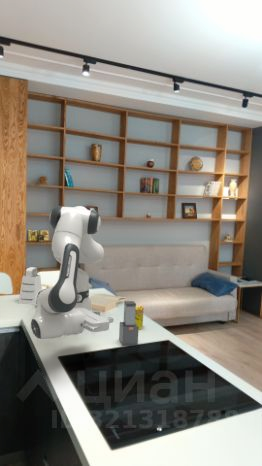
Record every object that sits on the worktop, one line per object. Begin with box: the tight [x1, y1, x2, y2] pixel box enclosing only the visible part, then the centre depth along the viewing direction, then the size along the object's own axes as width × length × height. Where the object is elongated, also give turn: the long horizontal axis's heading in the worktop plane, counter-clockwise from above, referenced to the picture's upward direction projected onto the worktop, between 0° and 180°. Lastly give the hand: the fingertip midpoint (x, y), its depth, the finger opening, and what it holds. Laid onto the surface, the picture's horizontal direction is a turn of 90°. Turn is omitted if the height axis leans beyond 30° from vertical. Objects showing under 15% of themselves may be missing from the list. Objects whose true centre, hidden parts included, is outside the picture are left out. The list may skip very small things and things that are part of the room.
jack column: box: [122, 300, 137, 326], centre depth 149 cm, size 4×4×17 cm
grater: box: [18, 266, 43, 306], centre depth 207 cm, size 10×10×20 cm
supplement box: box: [135, 305, 145, 331], centre depth 169 cm, size 6×6×11 cm
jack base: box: [118, 321, 140, 347], centre depth 149 cm, size 12×14×9 cm
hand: (105, 316), depth 141 cm, fingers open, 8 cm apart
